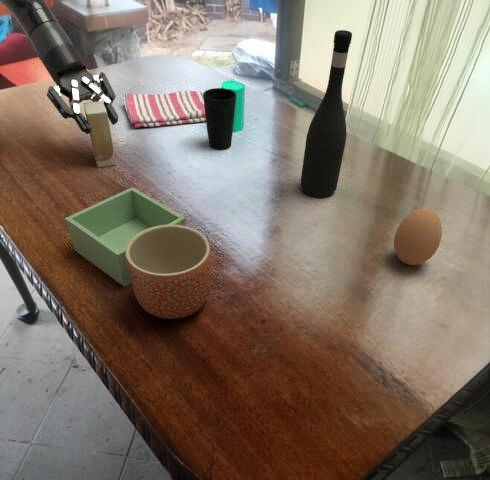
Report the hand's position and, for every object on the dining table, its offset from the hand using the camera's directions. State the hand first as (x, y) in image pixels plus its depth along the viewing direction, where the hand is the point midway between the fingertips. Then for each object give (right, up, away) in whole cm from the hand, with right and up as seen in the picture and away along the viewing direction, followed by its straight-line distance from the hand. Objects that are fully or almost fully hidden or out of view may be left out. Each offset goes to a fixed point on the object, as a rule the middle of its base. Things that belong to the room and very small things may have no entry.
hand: (102, 127), depth 99 cm
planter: (+20, -40, -25) cm, 51 cm away
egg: (+61, -32, -15) cm, 71 cm away
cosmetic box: (-1, -5, +7) cm, 9 cm away
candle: (+28, +10, +22) cm, 37 cm away
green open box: (+10, -29, -16) cm, 35 cm away
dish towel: (+10, +15, +27) cm, 32 cm away
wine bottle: (+47, -13, +1) cm, 49 cm away
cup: (+25, +2, +14) cm, 29 cm away
